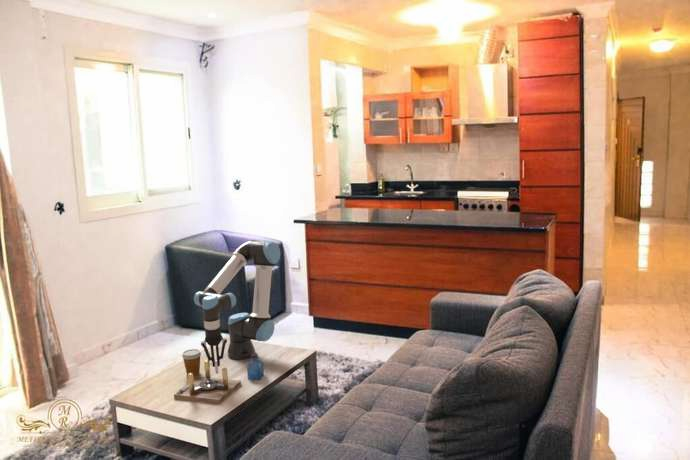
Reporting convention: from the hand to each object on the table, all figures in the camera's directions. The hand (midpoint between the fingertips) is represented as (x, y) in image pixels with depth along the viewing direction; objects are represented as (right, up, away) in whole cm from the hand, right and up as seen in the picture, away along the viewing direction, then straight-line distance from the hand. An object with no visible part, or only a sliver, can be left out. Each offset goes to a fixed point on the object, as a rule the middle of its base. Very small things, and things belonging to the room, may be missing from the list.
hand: (217, 372), depth 285 cm
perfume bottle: (+19, -4, +5) cm, 20 cm away
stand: (-2, -7, -9) cm, 12 cm away
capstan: (-2, -4, -7) cm, 9 cm away
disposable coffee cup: (-15, -4, +12) cm, 19 cm away
